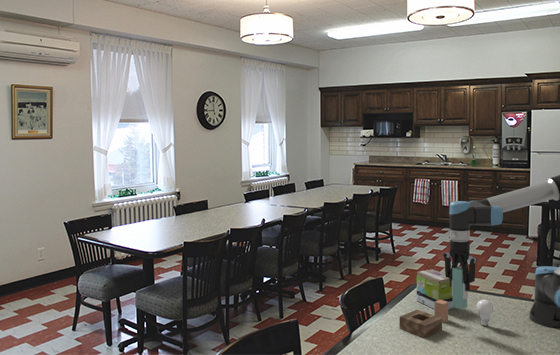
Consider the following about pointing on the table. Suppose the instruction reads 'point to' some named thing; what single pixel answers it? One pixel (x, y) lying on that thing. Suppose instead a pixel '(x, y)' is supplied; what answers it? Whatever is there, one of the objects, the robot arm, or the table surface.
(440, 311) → the short peg
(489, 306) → the lightbulb
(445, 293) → the tea box
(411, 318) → the socket block
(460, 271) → the long peg
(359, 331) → the table surface
